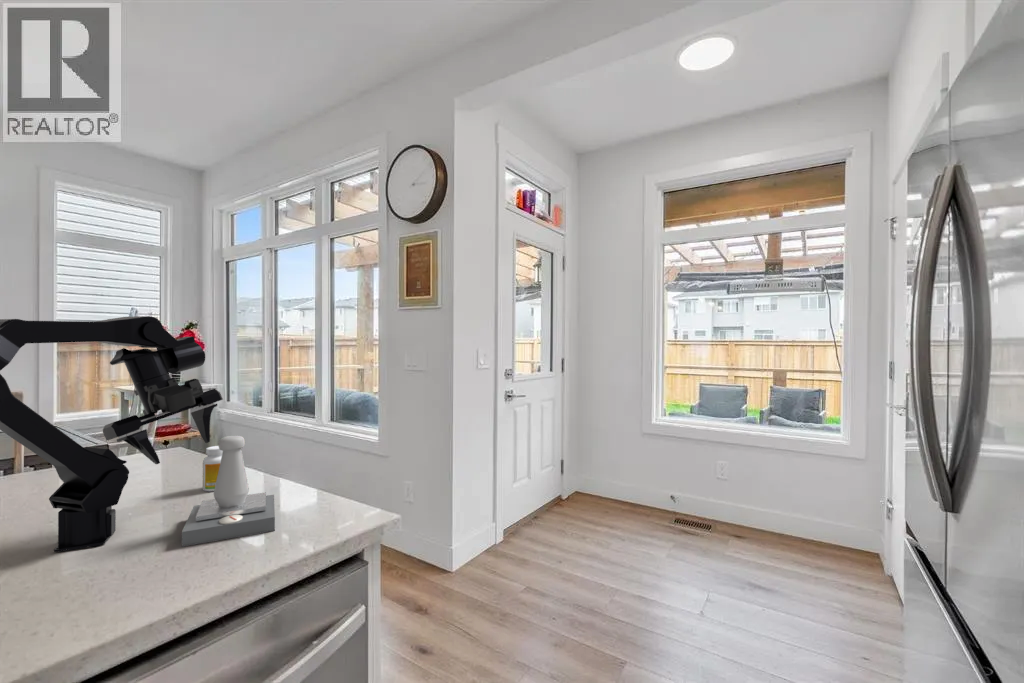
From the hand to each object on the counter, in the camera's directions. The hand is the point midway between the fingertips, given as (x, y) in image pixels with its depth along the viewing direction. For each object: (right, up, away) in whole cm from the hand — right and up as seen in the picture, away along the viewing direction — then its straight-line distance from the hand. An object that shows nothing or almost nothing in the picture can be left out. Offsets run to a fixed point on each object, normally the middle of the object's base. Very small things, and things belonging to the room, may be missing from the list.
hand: (183, 452), depth 90 cm
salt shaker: (+11, -9, -3) cm, 15 cm away
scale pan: (+11, -10, -2) cm, 15 cm away
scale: (+12, -13, -4) cm, 18 cm away
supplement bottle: (-5, -13, +18) cm, 23 cm away
